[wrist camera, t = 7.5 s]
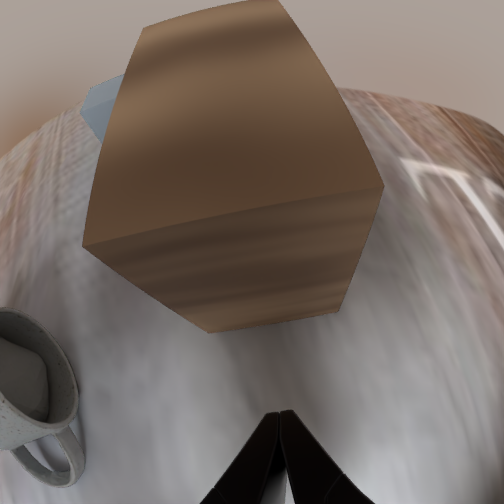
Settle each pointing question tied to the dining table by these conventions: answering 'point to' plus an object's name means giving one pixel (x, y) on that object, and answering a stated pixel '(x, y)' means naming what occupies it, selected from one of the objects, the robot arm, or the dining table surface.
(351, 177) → the walnut block
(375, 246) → the dining table surface
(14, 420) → the ceramic mug
